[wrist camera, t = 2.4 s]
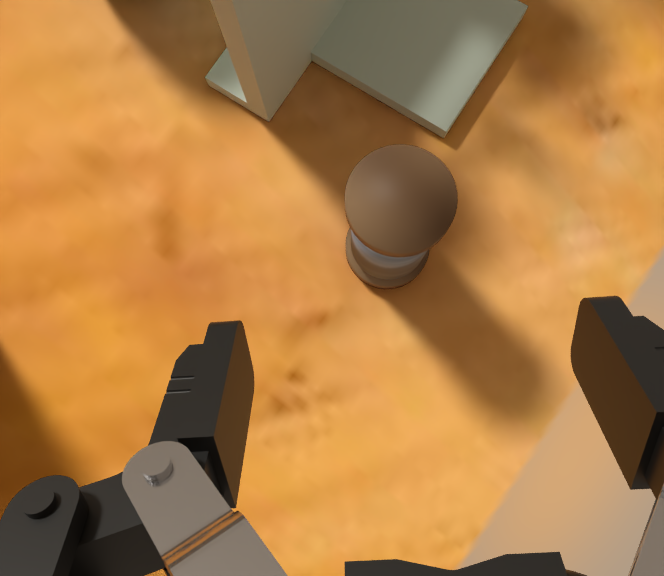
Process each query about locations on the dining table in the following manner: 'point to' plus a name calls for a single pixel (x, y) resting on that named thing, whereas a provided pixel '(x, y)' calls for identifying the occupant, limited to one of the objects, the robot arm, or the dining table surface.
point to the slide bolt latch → (363, 50)
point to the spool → (396, 213)
